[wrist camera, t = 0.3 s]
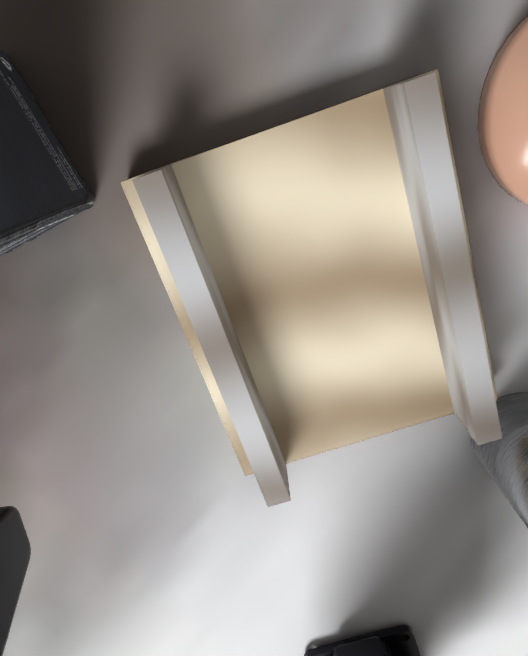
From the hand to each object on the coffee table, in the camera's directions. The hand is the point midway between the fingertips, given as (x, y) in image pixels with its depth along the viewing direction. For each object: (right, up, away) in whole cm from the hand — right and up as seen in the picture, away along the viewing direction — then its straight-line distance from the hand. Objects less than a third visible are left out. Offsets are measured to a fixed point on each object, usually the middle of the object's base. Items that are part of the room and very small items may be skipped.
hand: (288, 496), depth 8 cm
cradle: (+2, +4, +13) cm, 14 cm away
